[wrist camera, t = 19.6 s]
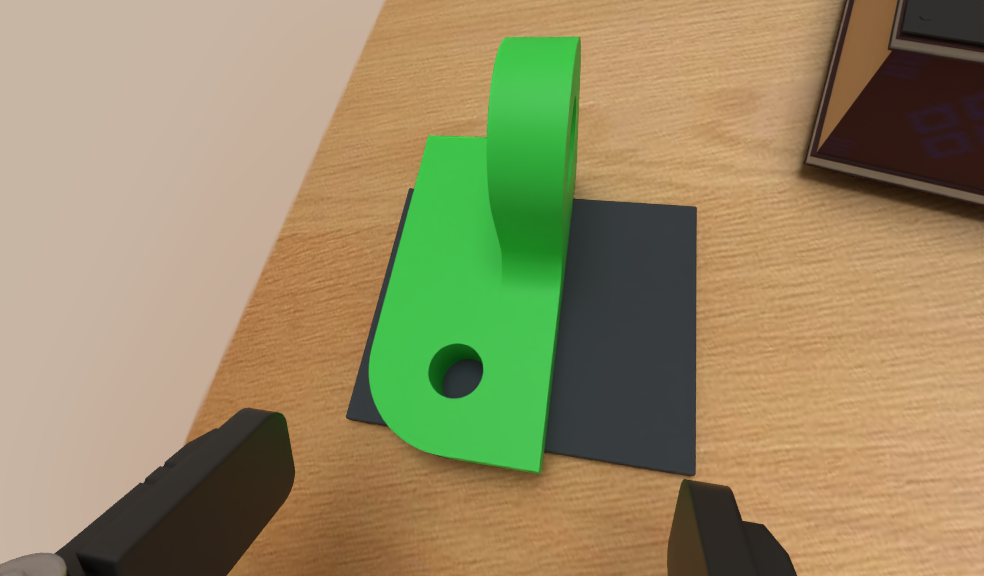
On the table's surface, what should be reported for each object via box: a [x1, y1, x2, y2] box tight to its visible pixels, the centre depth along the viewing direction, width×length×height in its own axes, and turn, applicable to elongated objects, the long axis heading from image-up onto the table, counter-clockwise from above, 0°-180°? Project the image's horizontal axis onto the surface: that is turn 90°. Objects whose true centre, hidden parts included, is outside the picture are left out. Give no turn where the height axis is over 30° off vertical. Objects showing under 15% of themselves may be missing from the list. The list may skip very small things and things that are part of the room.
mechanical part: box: [369, 37, 581, 475], centre depth 15 cm, size 12×6×8 cm, turn 171°
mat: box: [346, 188, 697, 476], centre depth 18 cm, size 12×10×1 cm
